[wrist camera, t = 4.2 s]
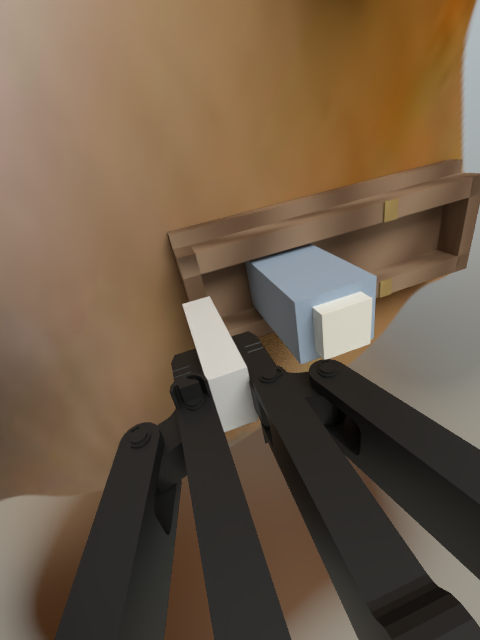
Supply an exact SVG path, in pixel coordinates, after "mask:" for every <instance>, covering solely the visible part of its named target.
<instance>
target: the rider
mask: <svg viewBox="0 0 480 640" xmlns="http://www.w3.org/2000/svg"><path fill="white" fill-rule="evenodd" d="M245 265H246V270H247V276H248V281H249V287H250V292H251V298H252V303H253V306H254V307H255V308H256V309H257V311H258V312H259V313H260V314H261V316H262V317H263V318H264V319H265V321H266V322H267V323H268V324H269V326H270V327H271V328H272V329H273V330H274V332H275V333H276V334H277V335H278V337H279V338H280V339H281V340H282V342H283V343H284V344H285V345H286V347H287V348H288V349H289V350H290V352H291V353H292V354H293V355H294V357H295V358H296V359H297V360H298V362H299V363H300V364H303V363H306V362H309V361H312V360H315V359H317V358H320V357H322V358H323V360H324V359H329V358H332V357H335V356H338V355H340V354H343V353H346V352H349V351H351V350H354V349H357V348H360V347H363V346H365V345H368V344H370V341H371V339H373V338H374V319H375V300H376V281H377V276H375V275H373V274H371V273H369V272H367V271H365V270H363V269H361V268H359V267H357V266H355V265H353V264H351V263H349V262H347V261H345V260H343V259H341V258H339V257H337V256H335V255H333V254H331V253H329V252H327V251H324V250H322V249H320V248H318V247H316V246H314V245H312V244H310V243H309V244H305V245H302V246H298V247H295V248H291V249H288V250H284V251H281V252H277V253H274V254H270V255H267V256H263V257H260V258H256V259H253V260H249V261H246V262H245Z"/></svg>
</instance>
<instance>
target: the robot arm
mask: <svg viewBox="0 0 480 640" xmlns="http://www.w3.org/2000/svg"><path fill="white" fill-rule="evenodd" d="M182 305H183V308H184V312H185V315H186V318H187V321H188V324H189V328H190V331H191V334H192V337H193V341H194V344H195V347H196V349H193V350H190V351H186V352H183V353H180V354H177V355H175V356H174V358H173V360H172V363H171V365H172V370H173V376H174V382H173V384H172V385H171V387H170V394H171V396H172V399H173V401H174V404H175V407H176V410H175V411H174V413H173V414H172V415H171V416H170V417H169V418H168V419H166V420H165V421H163V422H162V423H160V424H159V425H156V424H153V423H151V422H147V423H141V424H138V425H136V426H134V427H132V428H131V429H129V430H128V431H127V432H126V433H125V434H124V436H123V437H122V439H121V441H120V444H119V447H118V450H117V453H116V456H115V459H114V462H113V465H112V468H111V471H110V474H109V477H108V480H107V483H106V486H105V489H104V492H103V495H102V498H101V501H100V504H99V507H98V510H97V513H96V516H95V519H94V522H93V525H92V528H91V531H90V534H89V537H88V540H87V543H86V546H85V549H84V552H83V555H82V558H81V561H80V564H79V567H78V570H77V573H76V576H75V579H74V582H73V586H72V588H71V591H70V594H69V597H68V600H67V603H66V606H65V609H64V612H63V615H62V618H61V621H60V624H59V627H58V630H57V633H56V637H55V640H164V635H165V626H166V617H167V608H168V599H169V590H170V581H171V573H172V563H173V554H174V546H175V537H176V528H177V518H178V509H179V501H180V492H181V484H182V483H181V479H182V478H184V477H185V476H186V475H187V476H188V481H189V488H190V494H191V500H192V505H193V512H194V518H195V524H196V531H197V537H198V543H199V548H200V555H201V561H202V567H203V573H204V579H205V585H206V591H207V597H208V604H209V609H210V615H211V622H212V627H213V634H214V640H291V637H290V634H289V631H288V628H287V625H286V622H285V619H284V616H283V612H282V609H281V606H280V603H279V600H278V597H277V594H276V591H275V588H274V585H273V582H272V579H271V575H270V572H269V569H268V566H267V563H266V560H265V557H264V554H263V551H262V548H261V545H260V541H259V538H258V535H257V532H256V529H255V526H254V523H253V520H252V517H251V514H250V511H249V507H248V504H247V501H246V498H245V495H244V492H243V489H242V486H241V483H240V480H239V477H238V474H237V471H236V467H235V464H234V461H233V458H232V455H231V452H230V449H229V446H228V443H227V440H226V436H225V433H224V432H227V431H230V430H232V429H235V428H238V427H240V426H243V425H246V424H249V423H251V422H254V421H257V420H258V416H259V418H260V421H261V425H262V430H263V434H264V439H265V443H269V445H270V448H271V450H272V452H273V454H274V456H275V458H276V461H277V463H278V465H279V467H280V469H281V471H282V474H283V476H284V478H285V480H286V482H287V485H288V487H289V489H290V491H291V493H292V495H293V498H294V500H295V502H296V504H297V506H298V508H299V511H300V513H301V515H302V517H303V519H304V522H305V524H306V526H307V528H308V530H309V532H310V535H311V537H312V539H313V541H314V543H315V546H316V548H317V550H318V552H319V554H320V556H321V559H322V561H323V563H324V565H325V567H326V570H327V572H328V574H329V576H330V578H331V580H332V583H333V585H334V587H335V589H336V591H337V593H338V596H339V598H340V600H341V602H342V604H343V607H344V609H345V611H346V613H347V615H348V617H349V620H350V622H351V624H352V626H353V628H354V630H355V633H356V635H357V637H358V639H359V640H480V627H479V626H478V624H477V623H476V622H475V620H474V619H473V618H472V616H471V615H470V614H469V613H468V611H467V610H466V609H465V608H464V606H463V605H462V604H461V603H460V602H459V601H458V600H457V599H456V598H455V597H454V596H453V595H452V594H451V593H449V592H447V591H445V590H443V589H442V588H440V587H438V586H437V585H436V584H435V583H434V582H433V581H432V579H431V578H430V577H429V575H428V574H427V573H426V571H425V570H424V569H423V567H422V566H421V564H420V563H419V561H418V560H417V559H416V557H415V556H414V554H413V553H412V551H411V550H410V548H409V547H408V546H407V544H406V543H405V541H404V540H403V538H402V537H401V536H400V534H399V533H398V531H397V530H396V528H395V527H394V525H393V524H392V523H391V521H390V520H389V518H388V517H387V515H386V514H385V513H384V511H383V510H382V508H381V507H380V505H379V504H378V502H377V501H376V500H375V498H374V497H373V495H372V494H371V492H370V491H369V490H368V488H367V487H366V485H365V484H364V482H363V481H362V480H361V478H360V477H359V475H358V474H357V472H356V471H355V470H354V468H353V467H352V465H351V464H350V462H349V461H348V459H347V458H346V457H345V455H346V456H347V457H348V458H349V459H350V460H351V461H352V462H353V463H354V464H355V465H356V466H357V467H358V468H360V469H361V470H362V471H363V472H364V473H365V474H366V475H367V476H368V477H369V478H370V479H372V480H373V481H374V482H375V483H376V484H377V485H378V486H379V487H380V488H381V489H382V490H383V491H385V493H387V494H388V495H389V496H390V497H391V498H392V499H393V500H394V501H395V502H396V503H397V504H399V505H400V506H401V507H402V508H403V509H404V510H405V511H406V512H407V513H408V514H409V515H410V516H411V517H412V518H414V519H415V520H416V521H417V522H418V523H419V524H420V525H421V526H422V527H423V528H424V529H425V530H426V531H428V532H429V533H430V534H431V535H432V536H433V537H434V538H435V539H436V540H437V541H438V542H439V543H441V544H442V545H443V546H444V547H445V548H446V549H447V550H448V551H449V552H450V553H451V554H452V555H453V556H455V557H456V558H457V559H458V560H459V561H460V562H461V563H462V564H463V565H464V566H466V568H468V569H469V570H470V571H471V572H472V573H473V574H474V575H475V576H476V577H477V578H478V579H480V450H479V449H478V448H476V447H475V446H473V445H471V444H470V443H468V442H467V441H465V440H463V439H462V438H460V437H459V436H457V435H455V434H454V433H452V432H451V431H449V430H447V429H446V428H444V427H442V426H441V425H439V424H438V423H436V422H435V421H433V420H431V419H430V418H428V417H427V416H425V415H424V414H422V413H420V412H419V411H417V410H416V409H414V408H412V407H411V406H409V405H408V404H406V403H404V402H403V401H401V400H400V399H398V398H396V397H395V396H393V395H392V394H390V393H388V392H387V391H385V390H384V389H382V388H380V387H379V386H377V385H376V384H374V383H372V382H371V381H369V380H367V379H366V378H365V377H363V376H361V375H360V374H358V373H357V372H355V371H353V370H351V369H350V368H349V367H347V366H345V365H344V364H342V363H340V362H338V361H336V360H331V359H324V360H319V361H316V362H314V363H313V364H312V365H311V366H310V368H309V372H303V373H289V372H286V371H285V370H284V369H283V368H282V367H279V366H276V364H275V363H274V361H273V360H272V358H271V357H270V355H269V354H268V352H267V351H266V349H265V348H264V346H263V345H262V343H260V340H259V339H258V337H257V336H256V335H255V334H253V333H251V332H249V331H247V332H244V333H241V334H237V335H234V336H230V334H229V332H228V330H227V328H226V326H225V324H224V322H223V321H222V319H221V317H220V315H219V313H218V311H217V309H216V307H215V305H214V304H213V302H212V300H211V298H210V296H208V297H205V298H201V299H198V300H194V301H191V302H188V303H184V304H182ZM257 414H258V416H257Z"/></svg>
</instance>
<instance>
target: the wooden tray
mask: <svg viewBox="0 0 480 640" xmlns="http://www.w3.org/2000/svg"><path fill="white" fill-rule="evenodd" d="M461 166H462V160H458V159H449V160H445V161H442V162H438V163H434V164H430V165H426V166H422V167H418V168H414V169H411V170H407V171H403V172H399V173H395V174H391V175H387V176H383V177H380V178H376V179H372V180H368V181H364V182H360V183H356V184H352V185H349V186H345V187H341V188H337V189H333V190H329V191H325V192H321V193H318V194H314V195H310V196H306V197H302V198H298V199H294V200H290V201H287V202H283V203H279V204H275V205H271V206H267V207H263V208H259V209H256V210H252V211H248V212H244V213H240V214H236V215H232V216H228V217H225V218H221V219H217V220H213V221H209V222H205V223H201V224H197V225H194V226H190V227H186V228H182V229H178V230H174V231H170V232H167V233H168V236H169V240H170V243H171V246H172V250H173V253H174V256H175V259H176V263H177V266H178V269H179V273H180V276H181V279H182V283H183V286H184V289H185V292H186V296H187V299H188V302H191V301H194V300H198V299H201V298H205V297H208V296H210V298H211V300H212V302H213V304H214V305H215V307H216V309H217V311H218V313H219V315H220V317H221V319H222V321H223V322H224V324H225V326H226V328H227V330H228V332H229V334H230V336H234V335H237V334H241V333H244V332H247V331H249V332H251V333H253V334H255V335H256V336H257V337H261V336H264V335H267V334H270V333H273V332H274V330H273V329H272V328H271V327H270V326H269V324H268V323H267V322H266V321H265V319H264V318H263V317H262V316H261V314H260V313H259V312H258V311H257V309H256V308H255V307H254V306H253V303H252V298H251V292H250V287H249V281H248V276H247V270H246V265H245V262H246V261H249V260H253V259H256V258H260V257H263V256H267V255H270V254H274V253H277V252H281V251H284V250H288V249H291V248H295V247H298V246H302V245H305V244H309V243H310V244H312V245H314V246H316V247H318V248H320V249H322V250H324V251H327V252H329V253H331V254H333V255H335V256H337V257H339V258H341V259H343V260H345V261H347V262H349V263H351V264H353V265H355V266H357V267H359V268H361V269H363V270H365V271H367V272H369V273H371V274H373V275H375V276H377V281H376V298H378V297H379V298H381V297H384V296H387V295H390V294H391V293H393V292H396V291H399V290H402V289H405V288H408V287H411V286H414V285H417V284H420V283H423V282H426V281H429V280H432V279H435V278H438V277H441V276H444V275H447V274H450V273H453V272H456V271H459V270H462V269H465V268H466V266H467V261H468V256H469V252H470V247H471V242H472V238H473V233H474V228H475V223H476V219H477V214H478V209H479V205H480V174H479V173H477V174H476V173H460V172H461Z"/></svg>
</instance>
